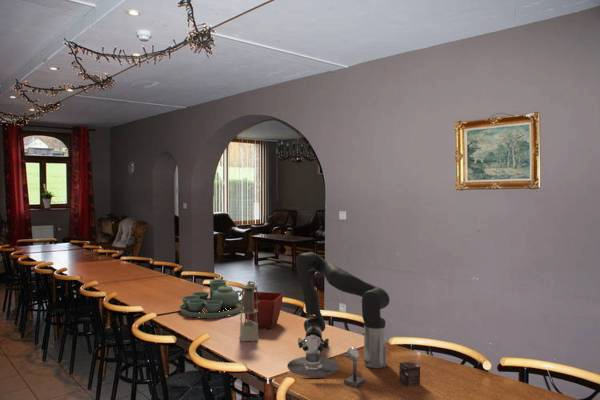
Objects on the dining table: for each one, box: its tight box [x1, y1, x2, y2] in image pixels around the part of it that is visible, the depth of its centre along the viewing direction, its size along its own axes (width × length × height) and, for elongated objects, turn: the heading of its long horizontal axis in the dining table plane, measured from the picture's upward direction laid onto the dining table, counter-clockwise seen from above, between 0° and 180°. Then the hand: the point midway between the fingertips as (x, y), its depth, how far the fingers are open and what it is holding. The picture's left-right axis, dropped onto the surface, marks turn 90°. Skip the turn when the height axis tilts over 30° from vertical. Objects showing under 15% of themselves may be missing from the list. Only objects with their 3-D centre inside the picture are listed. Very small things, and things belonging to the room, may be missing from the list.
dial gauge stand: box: [341, 346, 366, 388], centre depth 183 cm, size 9×6×14 cm, turn 50°
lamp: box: [238, 280, 260, 342], centre depth 234 cm, size 10×13×30 cm
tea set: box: [179, 278, 244, 319], centre depth 291 cm, size 40×40×16 cm
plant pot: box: [243, 291, 284, 330], centre depth 259 cm, size 19×19×17 cm
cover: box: [305, 335, 321, 366], centre depth 196 cm, size 6×6×12 cm
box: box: [398, 360, 421, 387], centre depth 183 cm, size 6×6×7 cm
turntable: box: [287, 356, 340, 380], centre depth 196 cm, size 22×22×1 cm
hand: (312, 349), depth 193 cm, fingers closed on cover, 6 cm apart
